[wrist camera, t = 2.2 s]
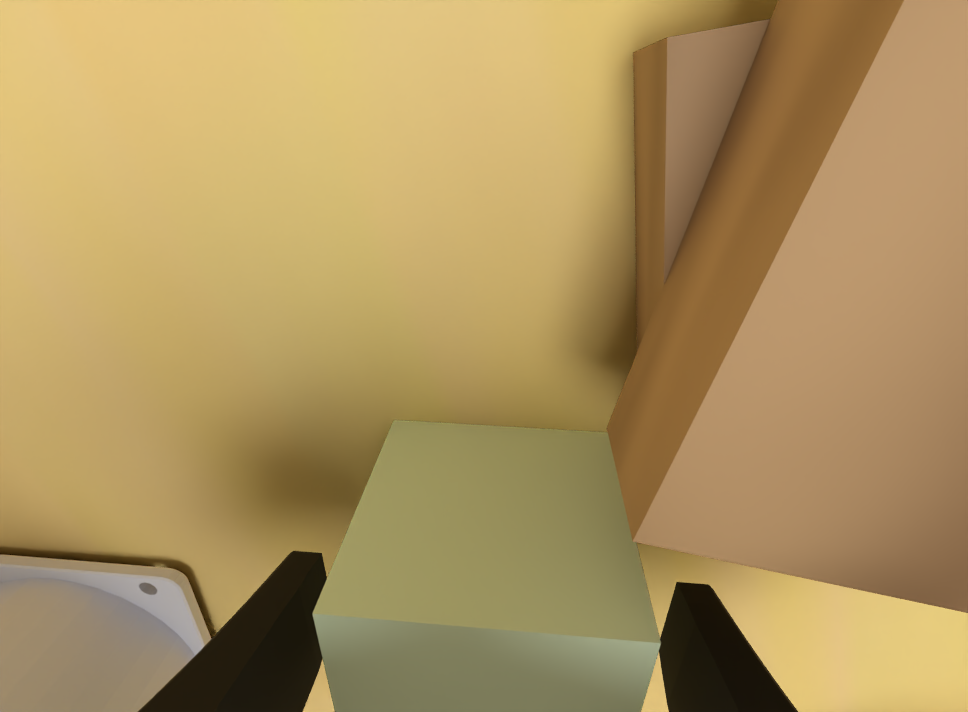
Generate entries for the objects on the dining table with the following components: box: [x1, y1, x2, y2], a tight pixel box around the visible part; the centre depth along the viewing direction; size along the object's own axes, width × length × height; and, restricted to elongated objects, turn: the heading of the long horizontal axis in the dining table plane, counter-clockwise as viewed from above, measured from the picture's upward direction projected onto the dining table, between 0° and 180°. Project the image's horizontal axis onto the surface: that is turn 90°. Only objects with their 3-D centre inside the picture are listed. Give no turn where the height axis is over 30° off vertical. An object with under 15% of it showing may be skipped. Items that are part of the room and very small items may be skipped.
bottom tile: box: [633, 19, 770, 351], centre depth 8 cm, size 7×7×2 cm
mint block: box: [312, 420, 661, 712], centre depth 10 cm, size 5×5×5 cm
